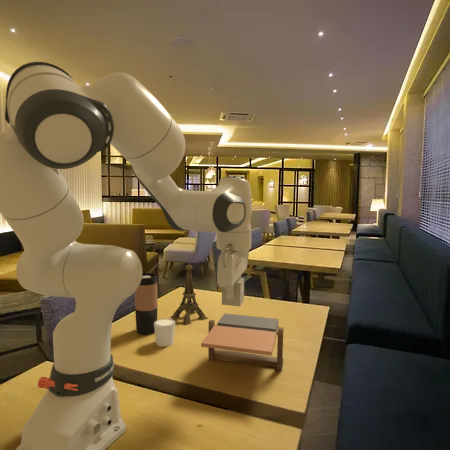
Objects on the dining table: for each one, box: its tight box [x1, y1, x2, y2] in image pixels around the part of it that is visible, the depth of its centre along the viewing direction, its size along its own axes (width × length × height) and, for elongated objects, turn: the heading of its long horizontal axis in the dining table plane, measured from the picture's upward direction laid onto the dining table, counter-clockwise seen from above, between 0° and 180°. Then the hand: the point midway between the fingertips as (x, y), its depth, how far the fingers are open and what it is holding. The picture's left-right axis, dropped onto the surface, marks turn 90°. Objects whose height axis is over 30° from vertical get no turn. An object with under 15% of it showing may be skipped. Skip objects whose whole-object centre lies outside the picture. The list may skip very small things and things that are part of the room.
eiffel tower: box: [170, 261, 209, 326], centre depth 135 cm, size 11×11×25 cm
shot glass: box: [154, 318, 176, 348], centre depth 114 cm, size 7×7×7 cm
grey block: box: [221, 277, 245, 307], centre depth 90 cm, size 5×5×6 cm
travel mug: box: [134, 272, 158, 336], centre depth 123 cm, size 8×8×20 cm
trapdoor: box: [200, 313, 279, 357], centre depth 98 cm, size 22×18×2 cm
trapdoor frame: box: [207, 319, 284, 372], centre depth 102 cm, size 5×21×12 cm, turn 76°
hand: (233, 294), depth 90 cm, fingers closed on grey block, 5 cm apart
